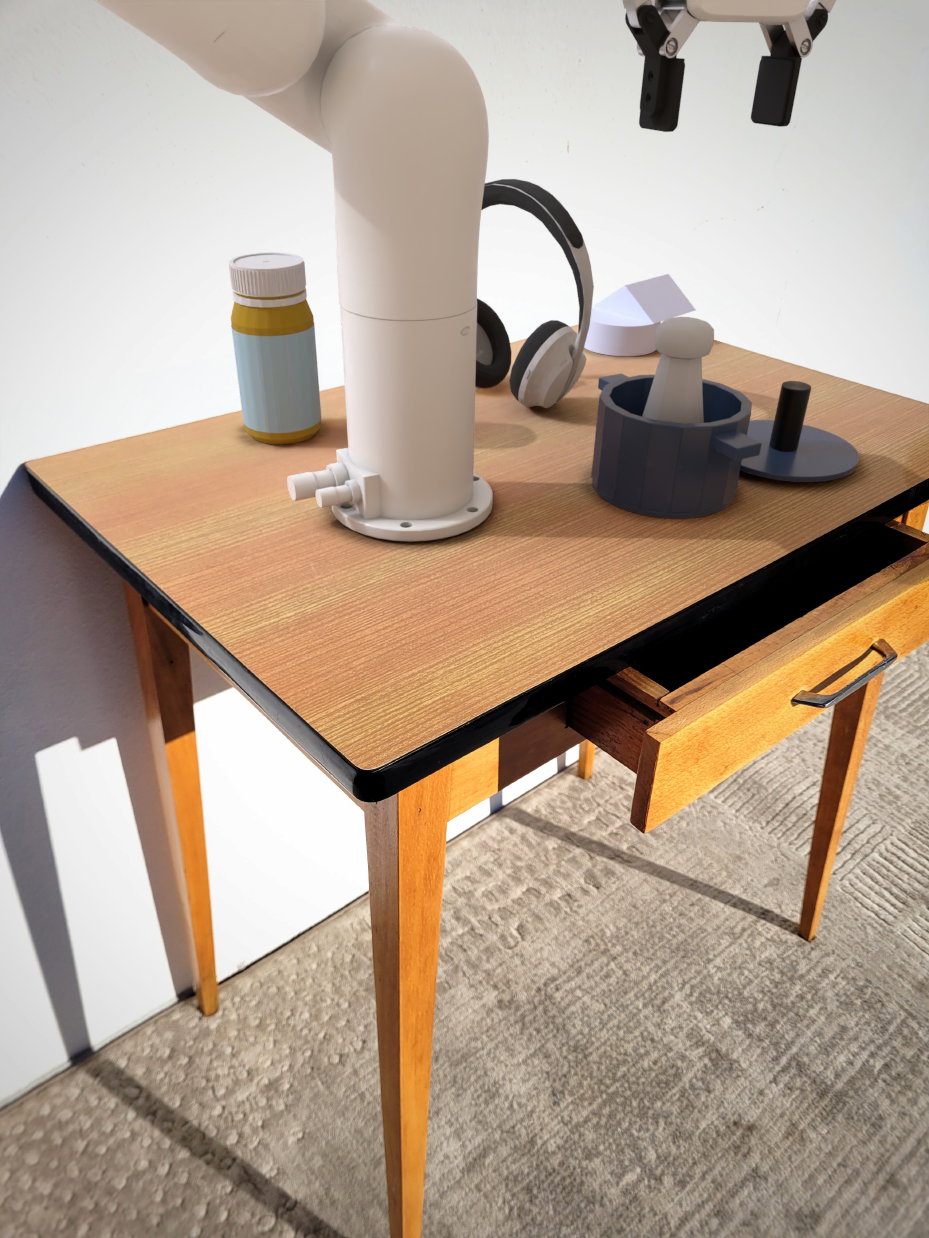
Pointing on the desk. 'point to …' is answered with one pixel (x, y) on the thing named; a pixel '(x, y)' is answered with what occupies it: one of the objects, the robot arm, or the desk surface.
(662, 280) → the wedge on round base
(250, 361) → the bottle
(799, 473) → the lid
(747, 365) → the desk surface
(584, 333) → the headphones
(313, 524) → the desk surface
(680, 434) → the pot
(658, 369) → the salt shaker
